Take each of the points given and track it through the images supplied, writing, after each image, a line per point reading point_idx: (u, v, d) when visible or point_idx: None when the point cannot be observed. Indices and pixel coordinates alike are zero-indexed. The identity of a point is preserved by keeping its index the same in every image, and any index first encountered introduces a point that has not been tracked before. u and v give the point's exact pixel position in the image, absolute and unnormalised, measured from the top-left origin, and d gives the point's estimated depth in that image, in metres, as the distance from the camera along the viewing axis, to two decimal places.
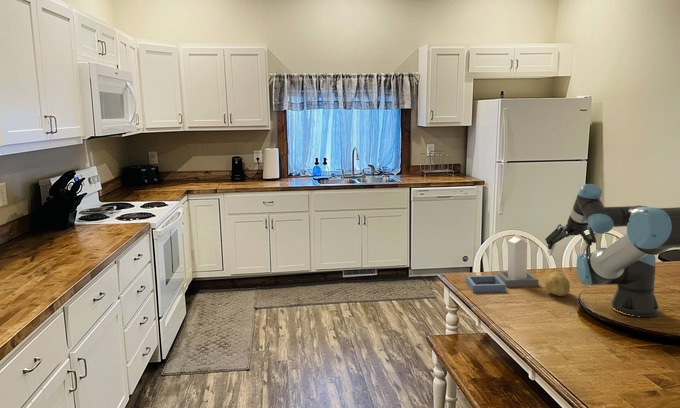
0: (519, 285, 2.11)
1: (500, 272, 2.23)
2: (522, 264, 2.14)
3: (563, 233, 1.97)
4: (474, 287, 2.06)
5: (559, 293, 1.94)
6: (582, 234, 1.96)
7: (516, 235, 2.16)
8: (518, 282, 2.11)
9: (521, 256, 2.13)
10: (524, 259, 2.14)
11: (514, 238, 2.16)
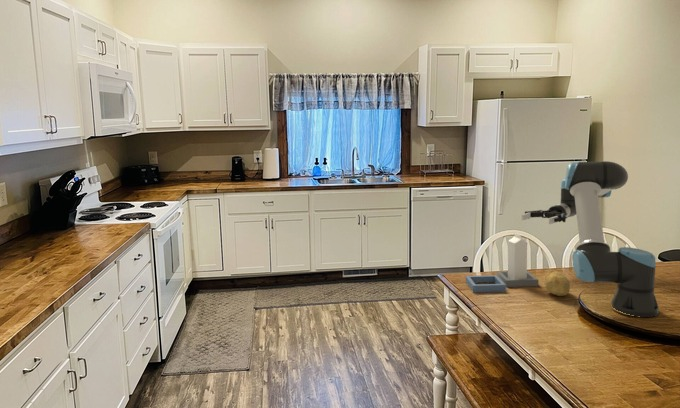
0: (519, 285, 2.11)
1: (500, 272, 2.23)
2: (522, 264, 2.14)
3: None
4: (474, 287, 2.06)
5: (559, 293, 1.94)
6: (555, 212, 2.28)
7: (516, 235, 2.16)
8: (518, 282, 2.11)
9: (521, 256, 2.13)
10: (524, 259, 2.14)
11: (514, 238, 2.16)
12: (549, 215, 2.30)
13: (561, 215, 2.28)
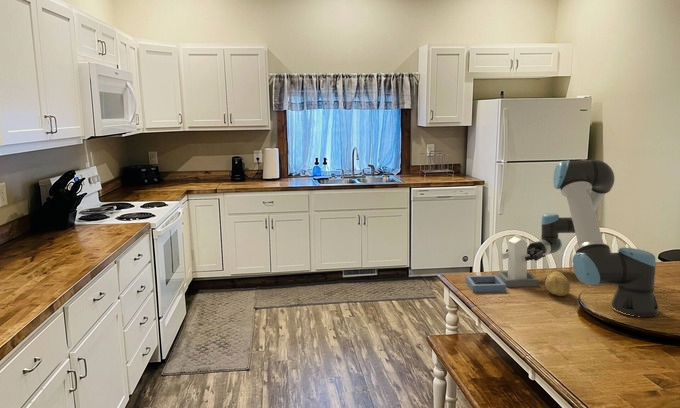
0: (519, 285, 2.11)
1: (500, 272, 2.23)
2: (522, 264, 2.14)
3: None
4: (474, 287, 2.06)
5: (559, 293, 1.94)
6: (533, 249, 2.20)
7: (516, 235, 2.16)
8: (518, 282, 2.11)
9: None
10: None
11: (514, 238, 2.16)
12: (528, 252, 2.21)
13: None
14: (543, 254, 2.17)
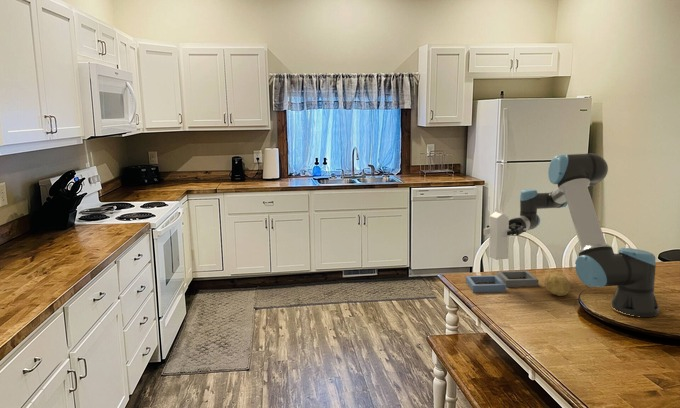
0: (519, 285, 2.11)
1: (500, 272, 2.23)
2: (504, 239, 2.11)
3: None
4: (474, 287, 2.06)
5: (559, 293, 1.94)
6: (514, 225, 2.17)
7: (497, 210, 2.12)
8: (518, 282, 2.11)
9: None
10: None
11: (495, 213, 2.12)
12: (509, 228, 2.18)
13: None
14: (524, 229, 2.15)
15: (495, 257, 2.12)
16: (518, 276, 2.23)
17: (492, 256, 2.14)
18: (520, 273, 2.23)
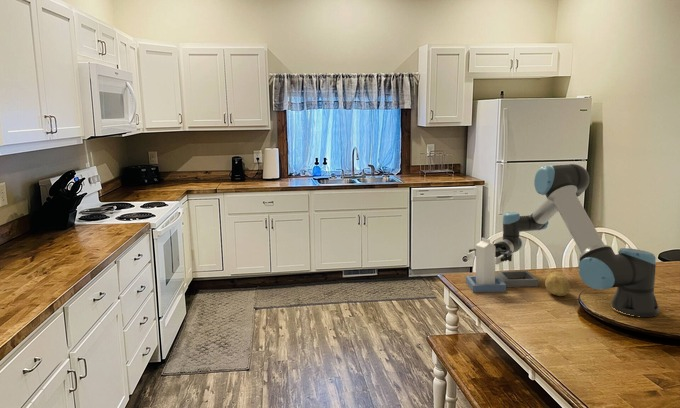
0: (519, 285, 2.11)
1: (500, 272, 2.23)
2: (491, 268, 2.09)
3: None
4: (474, 287, 2.06)
5: (559, 293, 1.94)
6: (500, 249, 2.16)
7: (484, 239, 2.10)
8: (518, 282, 2.11)
9: (490, 261, 2.08)
10: (493, 263, 2.09)
11: (482, 242, 2.11)
12: None
13: (506, 253, 2.16)
14: (511, 254, 2.14)
15: None
16: (518, 276, 2.23)
17: None
18: (520, 273, 2.23)
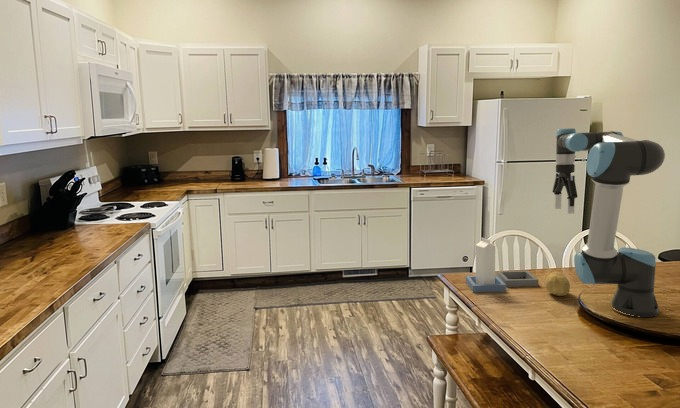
0: (519, 285, 2.11)
1: (500, 272, 2.23)
2: (491, 268, 2.09)
3: None
4: (474, 287, 2.06)
5: (559, 293, 1.94)
6: (563, 182, 2.10)
7: (483, 239, 2.10)
8: (518, 282, 2.11)
9: (490, 261, 2.08)
10: (492, 263, 2.09)
11: (482, 242, 2.11)
12: None
13: None
14: (571, 179, 2.05)
15: None
16: (518, 276, 2.23)
17: None
18: (520, 273, 2.23)
